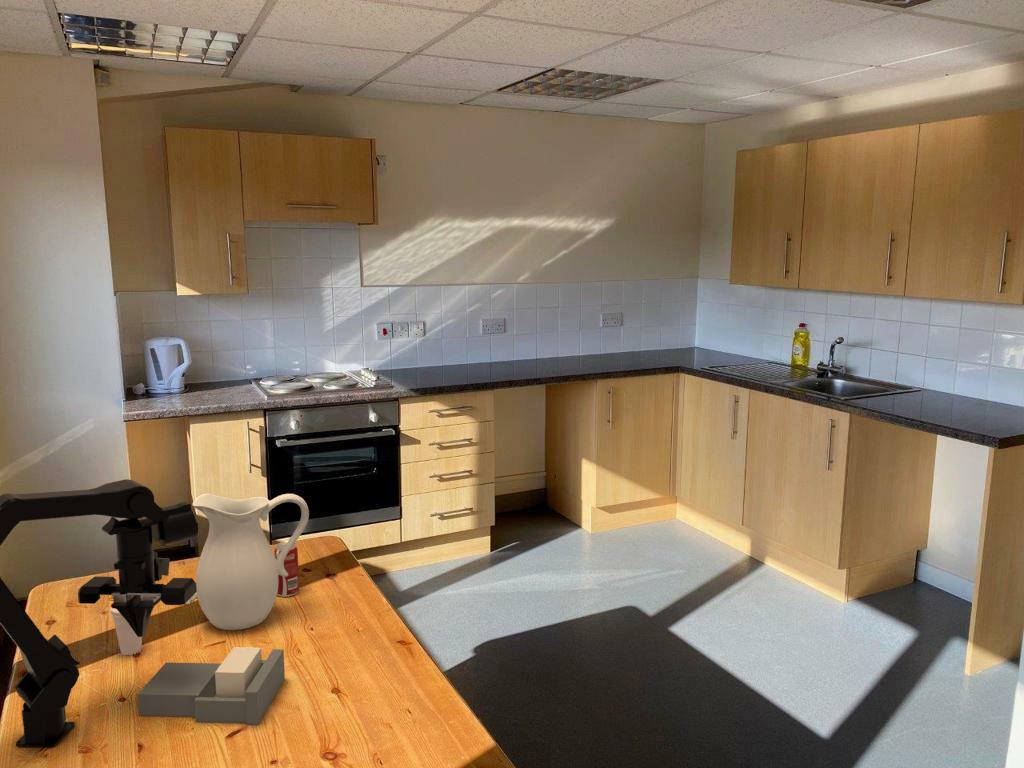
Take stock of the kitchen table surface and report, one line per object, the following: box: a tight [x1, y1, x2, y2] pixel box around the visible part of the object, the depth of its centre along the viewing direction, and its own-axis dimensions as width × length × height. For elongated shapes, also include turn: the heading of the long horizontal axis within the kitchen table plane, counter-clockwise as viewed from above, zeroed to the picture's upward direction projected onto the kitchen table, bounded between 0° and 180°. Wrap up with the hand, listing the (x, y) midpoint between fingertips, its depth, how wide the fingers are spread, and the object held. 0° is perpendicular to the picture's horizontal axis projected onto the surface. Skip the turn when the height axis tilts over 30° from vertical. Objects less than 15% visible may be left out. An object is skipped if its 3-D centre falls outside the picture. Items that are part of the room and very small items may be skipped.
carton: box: [215, 646, 263, 698], centre depth 146 cm, size 9×8×5 cm
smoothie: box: [110, 606, 143, 656], centre depth 163 cm, size 6×6×14 cm
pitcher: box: [191, 493, 310, 631], centre depth 177 cm, size 24×17×28 cm
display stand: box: [137, 648, 286, 726], centre depth 146 cm, size 15×22×6 cm
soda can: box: [273, 540, 300, 598], centre depth 191 cm, size 5×5×12 cm
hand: (141, 635), depth 145 cm, fingers closed
